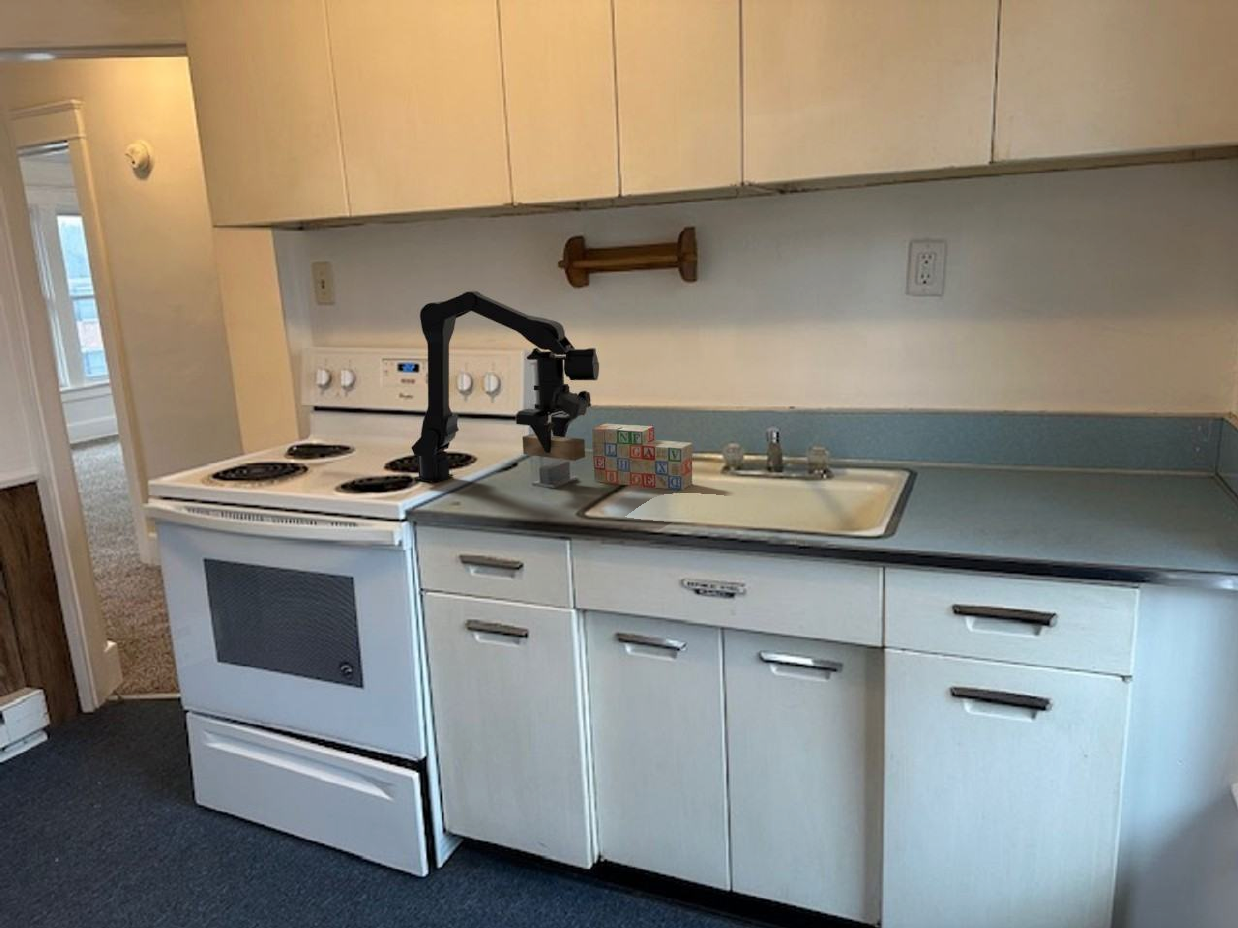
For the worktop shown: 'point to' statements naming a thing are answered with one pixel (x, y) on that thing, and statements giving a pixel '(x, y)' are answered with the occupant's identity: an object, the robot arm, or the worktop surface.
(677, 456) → the stack of blocks
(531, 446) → the bar
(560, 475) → the ridge
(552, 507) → the worktop surface
